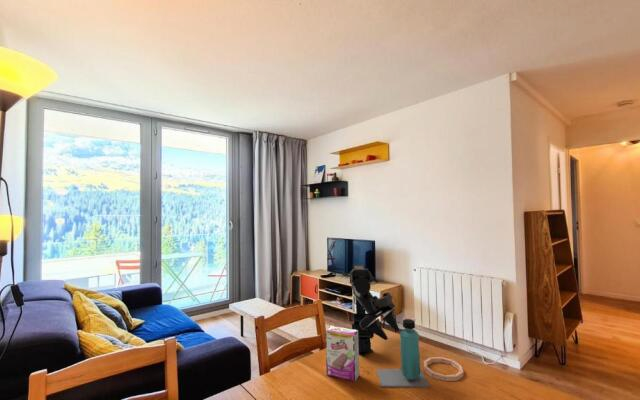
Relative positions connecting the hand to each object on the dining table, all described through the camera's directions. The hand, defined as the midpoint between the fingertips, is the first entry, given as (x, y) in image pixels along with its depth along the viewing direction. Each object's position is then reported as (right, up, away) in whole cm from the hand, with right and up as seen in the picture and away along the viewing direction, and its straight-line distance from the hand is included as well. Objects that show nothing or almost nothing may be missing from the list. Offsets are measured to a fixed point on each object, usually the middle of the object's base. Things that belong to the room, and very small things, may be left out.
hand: (392, 335), depth 110 cm
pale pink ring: (+18, -13, -1) cm, 22 cm away
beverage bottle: (+5, -13, -6) cm, 15 cm away
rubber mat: (+2, -13, -5) cm, 14 cm away
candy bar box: (-19, -14, -2) cm, 23 cm away
